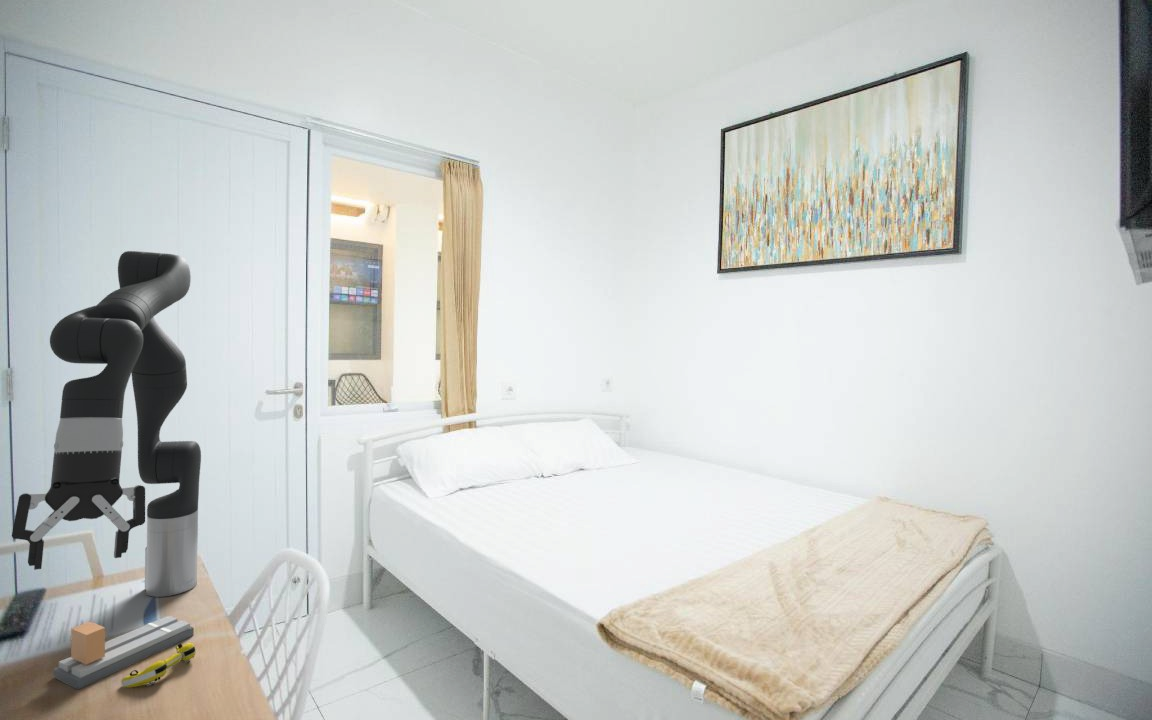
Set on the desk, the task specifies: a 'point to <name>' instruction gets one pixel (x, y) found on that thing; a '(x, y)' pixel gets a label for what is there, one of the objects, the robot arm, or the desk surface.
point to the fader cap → (87, 642)
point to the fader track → (125, 651)
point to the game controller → (159, 667)
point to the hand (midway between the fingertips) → (78, 562)
